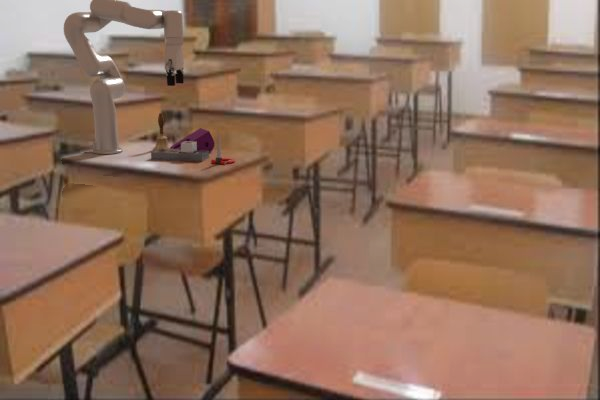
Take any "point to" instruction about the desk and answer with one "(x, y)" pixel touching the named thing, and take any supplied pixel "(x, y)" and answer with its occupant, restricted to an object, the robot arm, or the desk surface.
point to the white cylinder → (189, 147)
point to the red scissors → (218, 158)
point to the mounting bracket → (198, 140)
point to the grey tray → (179, 155)
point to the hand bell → (161, 135)
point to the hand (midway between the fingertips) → (175, 84)
